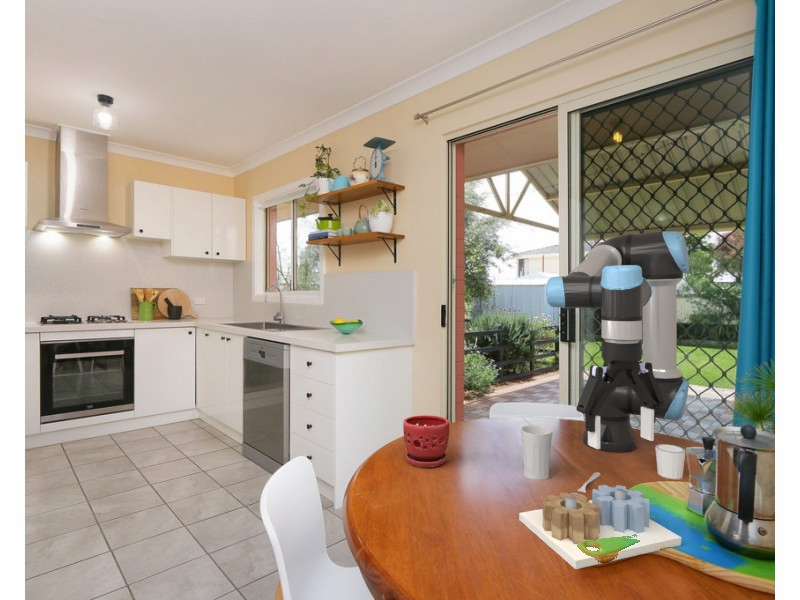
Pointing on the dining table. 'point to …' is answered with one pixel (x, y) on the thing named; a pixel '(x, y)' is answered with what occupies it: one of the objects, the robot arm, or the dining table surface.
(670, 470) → the short white tumbler
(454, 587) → the dining table surface
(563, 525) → the gear
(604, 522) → the gear
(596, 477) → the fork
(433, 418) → the plant pot
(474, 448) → the dining table surface
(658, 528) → the gear board
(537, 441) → the cup
